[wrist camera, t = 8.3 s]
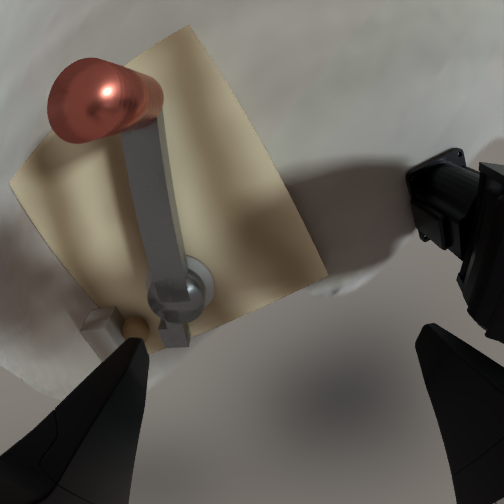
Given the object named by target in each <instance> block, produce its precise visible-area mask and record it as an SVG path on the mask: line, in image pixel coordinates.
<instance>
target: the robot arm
mask: <svg viewBox="0 0 504 504" xmlns="http://www.w3.org/2000/svg"><path fill="white" fill-rule="evenodd" d="M458 152H459V155H458ZM479 171H480V172H479ZM479 171H475V170H474V169H471V168H469V167H467V166H466V162H465V157H464V153H463V150H462V149H460V148H455V149H453V150H451V151H449V152H447V153H445V154H443V155H441V156H439V157H437V158H435V159H433V160H431V161H429V162H427V163H425V164H423V165H421V166H419V167H417V168H415V169H413V170H411V171H409V172H408V173H407V174H406V182H407V186H408V189H409V193H410V197H411V201H410V204H411V208H412V213H413V217H414V221H415V226H416V228H417V229H418V232H419V236H420V239H421V240H422V241H424V242H427V241H429V240H432V241H433V242H434V243H435V244H436V245H437V246H439V247H440V248H441V249H443V250H446V249H449V250H450V251H451V252H453V253H454V254H455V255H456V256H457V257H458V258H459V259H461V260H462V261H463V263H462V267H461V270H460V273H458V276H457V282H458V285H459V287H460V289H461V291H462V293H463V297H464V299H465V301H466V303H467V305H468V308H467V312H468V313H469V315H470V316H471V317H472V318H473V319H474V321H476V322H477V324H478V325H479V326H481V327H482V328H483V329H485V330H486V333H485V336H486V337H487V338H490V339H494V340H497V341H500V342H501V343H503V344H504V165H498V164H491V163H484V162H479ZM412 176H413V179H412V180H411V177H412ZM425 235H426V236H425ZM424 236H425V237H424ZM415 348H416V352H417V355H418V359H419V363H420V366H421V370H422V374H423V378H424V381H425V385H426V388H427V391H428V394H429V397H430V400H431V403H432V406H433V409H434V412H435V415H436V418H437V421H438V425H439V428H440V432H441V435H442V439H443V442H444V446H445V449H446V453H447V458H448V462H449V466H450V470H451V475H452V480H453V485H454V491H455V496H456V501H457V504H493V503H494V504H504V367H502V366H501V365H499V364H498V363H496V362H495V361H493V360H492V359H490V358H489V357H487V356H486V355H484V354H483V353H481V352H480V351H478V350H476V349H475V348H473V347H472V346H470V345H469V344H467V343H466V342H464V341H462V340H461V339H459V338H458V337H456V336H454V335H453V334H451V333H450V332H448V331H447V330H445V329H443V328H441V327H440V326H439V325H437V324H435V323H431V324H426V325H424V326H423V328H422V330H421V332H420V334H419V336H418V338H417V340H416V342H415ZM148 370H149V355H148V352H147V349H146V346H145V343H144V340H143V339H142V338H140V337H129V338H127V339H126V340H125V341H124V342H123V343H122V344H121V345H120V346H119V347H118V348H117V349H116V350H115V351H114V352H113V353H111V354H110V355H109V356H108V357H107V358H106V359H105V360H104V361H103V362H102V363H101V364H100V365H99V366H98V367H97V368H96V369H95V370H94V371H93V372H92V373H91V374H90V375H89V376H87V377H86V378H85V379H84V380H83V381H82V382H81V383H80V384H79V385H78V386H77V387H76V388H75V389H74V390H73V391H72V392H71V393H70V394H69V395H68V396H67V397H66V398H65V399H64V400H63V401H62V402H61V403H60V404H59V405H58V406H57V407H56V408H55V410H53V411H52V412H51V413H50V414H49V415H48V416H47V417H46V418H45V419H44V420H43V421H41V422H40V423H39V424H38V425H37V426H36V427H35V428H34V429H33V430H32V431H30V432H29V433H28V434H27V435H26V436H24V437H23V438H22V439H21V440H19V441H18V442H17V443H16V444H15V445H13V446H12V447H11V448H10V449H8V450H7V451H6V452H4V453H3V454H2V455H1V456H0V504H128V502H129V494H130V488H131V481H132V474H133V468H134V461H135V456H136V450H137V444H138V439H139V433H140V428H141V423H142V418H143V413H144V408H145V400H146V389H147V379H148Z"/></svg>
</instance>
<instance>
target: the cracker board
mask: <svg viewBox="0 0 504 504" xmlns="http://www.w3.org/2000/svg"><path fill="white" fill-rule="evenodd" d="M124 67H126V68H129V69H132V70H135V71H138V72H140V73H143V74H146V75H148V76H151V77H153V78H154V79H155V80H157V81H158V83H159V84H160V85H161V88H162V90H163V95H164V102H163V115H164V124H165V132H166V140H167V147H168V154H169V161H170V168H171V175H172V181H173V187H174V194H175V200H176V205H177V211H178V217H179V222H180V227H181V233H182V238H183V243H184V248H185V253H186V258H187V263H188V267H189V269H190V270H192V271H194V272H195V273H197V274H198V275H199V276H200V278H201V279H202V280H203V282H204V284H205V289H206V294H205V302H204V308H203V311H202V313H201V315H200V316H199V317H198V318H197V319H195V320H194V321H192V322H189V323H188V326H189V329H190V333H191V336H190V338H191V337H194V336H196V335H199V334H201V333H204V332H206V331H208V330H211V329H213V328H215V327H218V326H220V325H222V324H225V323H227V322H229V321H232V320H234V319H236V318H239V317H241V316H243V315H245V314H248V313H250V312H252V311H254V310H257V309H259V308H261V307H263V306H265V305H268V304H270V303H272V302H274V301H276V300H278V299H281V298H283V297H285V296H287V295H289V294H291V293H293V292H295V291H298V290H300V289H302V288H304V287H306V286H308V285H310V284H312V283H314V282H316V281H318V280H320V279H322V278H324V277H326V276H328V273H327V270H326V268H325V266H324V264H323V262H322V260H321V258H320V255H319V253H318V251H317V249H316V247H315V245H314V243H313V241H312V239H311V236H310V234H309V232H308V230H307V228H306V226H305V224H304V222H303V220H302V218H301V216H300V214H299V212H298V210H297V208H296V206H295V204H294V202H293V200H292V198H291V196H290V194H289V192H288V191H287V189H286V187H285V185H284V183H283V181H282V179H281V177H280V175H279V173H278V172H277V170H276V168H275V166H274V164H273V162H272V160H271V159H270V157H269V155H268V153H267V151H266V149H265V148H264V146H263V144H262V142H261V140H260V139H259V137H258V135H257V133H256V132H255V130H254V128H253V126H252V125H251V123H250V121H249V119H248V118H247V116H246V114H245V112H244V111H243V109H242V107H241V106H240V104H239V102H238V101H237V99H236V97H235V96H234V94H233V92H232V91H231V89H230V87H229V86H228V84H227V82H226V81H225V79H224V78H223V76H222V74H221V73H220V71H219V70H218V68H217V66H216V65H215V63H214V62H213V60H212V59H211V57H210V56H209V54H208V52H207V51H206V49H205V48H204V46H203V45H202V43H201V42H200V40H199V39H198V37H197V36H196V34H195V33H194V31H193V30H192V28H191V27H190V25H188V26H186V27H184V28H182V29H180V30H179V31H177V32H175V33H173V34H172V35H170V36H168V37H167V38H165V39H163V40H162V41H160V42H159V43H157V44H155V45H154V46H152V47H151V48H149V49H148V50H146V51H145V52H143V53H142V54H140V55H139V56H137V57H136V58H135V59H133V60H132V61H130V62H129V63H128V64H126V65H125V66H124ZM9 184H10V186H11V188H12V189H13V191H14V193H15V195H16V196H17V198H18V200H19V201H20V203H21V205H22V206H23V208H24V209H25V211H26V213H27V214H28V216H29V217H30V219H31V220H32V222H33V223H34V225H35V226H36V228H37V229H38V231H39V232H40V234H41V235H42V237H43V238H44V240H45V241H46V242H47V244H48V245H49V246H50V248H51V249H52V251H53V252H54V253H55V255H56V256H57V257H58V259H59V260H60V261H61V262H62V264H63V265H64V266H65V268H66V269H67V270H68V271H69V273H70V274H71V275H72V276H73V278H74V279H75V280H76V281H77V282H78V284H79V285H80V286H81V287H82V288H83V290H84V291H85V292H86V293H87V294H88V295H89V297H90V298H91V299H92V300H93V301H94V302H95V303H96V304H97V306H98V307H99V308H100V309H94V310H91V312H90V314H89V315H88V317H87V319H86V321H85V322H84V324H83V326H82V328H81V330H80V332H81V334H82V335H83V336H84V338H85V339H86V341H87V342H88V343H89V345H90V346H91V348H92V349H93V350H94V352H95V353H96V354H97V356H98V357H99V358H100V360H101V361H102V362H103V361H104V360H105V359H106V358H107V357H108V356H109V355H110V354H111V353H113V352H114V351H115V350H116V349H117V348H118V347H119V346H120V345H121V344H122V343H123V342H124V341H125V340H126V339H127V338H129V337H140V338H142V339H143V340H144V343H145V346H146V349H147V352H148V354H151V353H153V352H156V351H159V350H161V349H164V348H165V347H164V345H163V342H162V339H161V337H160V334H159V332H158V327H159V323H160V320H161V318H160V317H158V316H157V315H156V314H155V313H154V312H153V311H152V310H151V308H150V306H149V304H148V300H147V294H148V291H149V288H150V286H151V283H152V281H153V278H152V275H151V271H150V268H149V264H148V260H147V257H146V253H145V249H144V245H143V241H142V237H141V233H140V229H139V225H138V221H137V217H136V212H135V208H134V203H133V198H132V194H131V189H130V184H129V178H128V173H127V167H126V162H125V156H124V150H123V143H122V136H121V133H120V134H116V135H112V136H108V137H104V138H101V139H97V140H94V141H90V142H87V143H82V144H72V143H68V142H66V141H64V140H62V139H61V138H59V137H58V136H57V135H56V133H55V132H54V131H53V130H52V131H51V132H50V133H49V134H48V136H47V137H46V138H45V139H44V140H43V141H42V142H41V143H40V145H39V146H38V147H37V148H36V149H35V150H34V152H33V153H32V154H31V155H30V156H29V158H28V159H27V160H26V161H25V163H24V164H23V165H22V167H21V168H20V169H19V170H18V172H17V173H16V174H15V176H14V177H13V179H12V180H11V181H10V183H9Z"/></svg>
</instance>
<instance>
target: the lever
mask: <svg viewBox="0 0 504 504" xmlns="http://www.w3.org/2000/svg"><path fill="white" fill-rule="evenodd" d="M163 102H164V95H163V90H162V88H161V85H160V84H159V83H158V81H157V80H155V79H154V78H153V77H151V76H148V75H146V74H143V73H140V72H138V71H135V70H132V69H129V68H126V67H123V66H120V65H117V64H114V63H111V62H108V61H105V60H101V59H98V58H84V59H81V60H78V61H76V62H74V63H72V64H71V65H69V66H68V67H67V68H65V69H64V70H63V71H62V72H61V73H60V75H59V76H58V77H57V79H56V80H55V82H54V84H53V86H52V88H51V91H50V94H49V98H48V105H47V113H48V119H49V122H50V125H51V127H52V129H53V131H54V132H55V133H56V135H57V136H58V137H59V138H61V139H62V140H64V141H66V142H68V143H72V144H82V143H87V142H90V141H94V140H97V139H101V138H104V137H108V136H112V135H116V134H120V133H121V136H122V143H123V150H124V156H125V162H126V167H127V173H128V178H129V184H130V189H131V194H132V198H133V203H134V208H135V212H136V217H137V221H138V225H139V229H140V233H141V237H142V241H143V245H144V249H145V253H146V257H147V260H148V264H149V268H150V271H151V275H152V278H153V281H152V283H151V286H150V288H149V291H148V294H147V300H148V304H149V306H150V308H151V310H152V311H153V312H154V313H155V314H156V315H157V316H158V317H160V318H161V320H160V323H159V327H158V332H159V334H160V337H161V339H162V342H163V345H164V347H165V348H171V347H189V342H190V336H191V333H190V329H189V326H188V323H189V322H192V321H194V320H195V319H197V318H198V317H199V316H200V315H201V313H202V311H203V308H204V302H205V294H206V289H205V284H204V282H203V280H202V279H201V278H200V276H199V275H198V274H197V273H195V272H194V271H192V270H190V269H189V267H188V263H187V258H186V253H185V248H184V243H183V238H182V233H181V227H180V222H179V217H178V211H177V205H176V200H175V194H174V187H173V181H172V175H171V168H170V161H169V154H168V147H167V140H166V132H165V124H164V115H163Z"/></svg>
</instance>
